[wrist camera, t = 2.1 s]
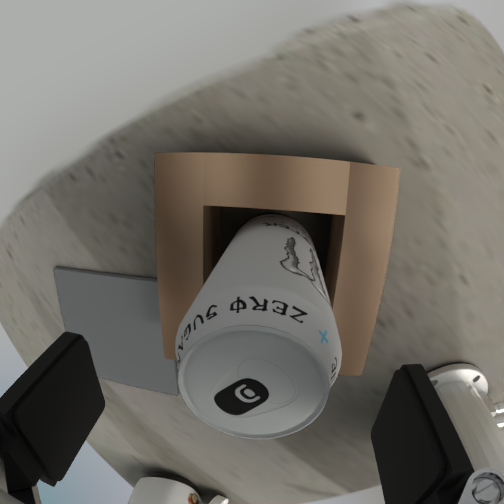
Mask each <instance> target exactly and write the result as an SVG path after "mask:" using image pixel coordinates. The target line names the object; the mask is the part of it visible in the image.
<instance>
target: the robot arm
mask: <svg viewBox="0 0 504 504" xmlns="http://www.w3.org/2000/svg"><path fill="white" fill-rule="evenodd" d="M487 394H488V382H487V379H486V377H485V376H484V374H483V373H482V371H481V370H480V369H478V368H477V367H475V366H473V365H471V364H464V363H461V364H452V365H448V366H444V367H441V368H439V369H436V370H434V371H431V372H430V373H428V374H427V373H426V371H425V369H424V368H423V366H422V365H421V364H408V365H402V366H401V368H400V370H396V371H395V373H394V375H393V378H392V381H391V383H390V386H389V389H388V391H387V394H386V396H385V399H384V401H383V404H382V406H381V409H380V411H379V414H378V416H377V418H376V421H375V423H374V425H373V427H372V431H371V440H372V444H373V449H374V453H375V457H376V462H377V466H378V471H379V475H380V480H381V485H382V489H383V495H384V500H385V504H504V435H503V433H502V431H501V428H503V426H504V415H503V414H501V413H504V402H499V403H495V404H492V403H491V402H490V400H489V399H488V397H487ZM104 407H105V400H104V396H103V393H102V390H101V387H100V384H99V380H98V377H97V374H96V370H95V366H94V363H93V359H92V355H91V351H90V348H89V344H88V342H87V341H86V340H85V338H84V337H83V335H81V334H77V333H72V332H68V331H67V332H64V333H63V334H62V335H61V336H60V337H59V338H58V339H57V340H56V341H55V342H54V343H53V344H52V345H51V346H50V347H49V348H48V349H47V350H46V351H45V352H44V353H43V354H42V355H41V356H40V357H39V358H38V359H37V360H36V361H35V362H34V363H33V364H32V365H31V366H30V367H29V368H28V369H27V370H26V371H25V372H24V373H23V374H22V375H21V376H20V377H19V378H18V379H17V380H16V381H15V383H14V384H13V385H12V386H11V387H10V388H9V389H8V390H7V391H6V392H5V393H4V394H3V396H2V397H1V398H0V504H41V500H40V496H39V492H38V487H37V482H38V480H39V479H40V480H41V481H43V482H45V483H47V484H49V485H51V486H53V487H54V486H55V485H56V483H57V481H61V480H62V479H63V477H64V476H65V474H66V472H67V471H68V469H69V467H70V466H71V464H72V462H73V460H74V459H75V457H76V455H77V453H78V452H79V450H80V448H81V447H82V445H83V443H84V442H85V440H86V438H87V437H88V435H89V433H90V432H91V430H92V428H93V427H94V425H95V423H96V422H97V420H98V418H99V417H100V415H101V414H102V412H103V410H104Z"/></svg>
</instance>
